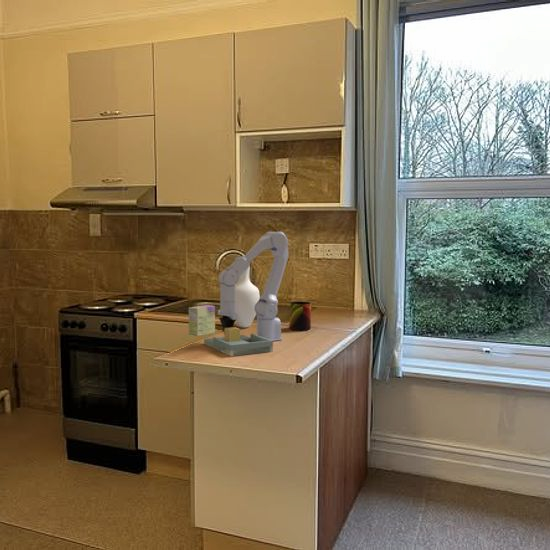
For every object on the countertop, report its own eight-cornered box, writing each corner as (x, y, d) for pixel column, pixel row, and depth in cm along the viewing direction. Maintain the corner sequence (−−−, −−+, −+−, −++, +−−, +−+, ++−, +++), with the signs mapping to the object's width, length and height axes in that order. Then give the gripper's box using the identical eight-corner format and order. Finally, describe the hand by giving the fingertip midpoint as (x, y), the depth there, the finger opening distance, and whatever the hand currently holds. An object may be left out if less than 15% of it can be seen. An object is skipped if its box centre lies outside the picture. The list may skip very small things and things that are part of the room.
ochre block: (234, 338, 218) (234, 327, 218) (239, 340, 214) (240, 328, 214) (224, 339, 216) (224, 327, 215) (229, 341, 212) (229, 329, 211)
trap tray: (243, 339, 225) (243, 329, 225) (272, 351, 204) (272, 340, 204) (204, 343, 217) (204, 333, 217) (230, 356, 196) (230, 345, 196)
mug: (305, 325, 259) (305, 300, 258) (313, 331, 246) (313, 304, 245) (285, 326, 257) (285, 300, 256) (291, 331, 244) (292, 304, 243)
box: (206, 331, 243) (206, 304, 242) (215, 333, 240) (215, 305, 239) (188, 334, 235) (188, 307, 234) (197, 336, 232) (197, 308, 231)
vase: (229, 324, 261) (229, 265, 259) (259, 324, 261) (259, 265, 259) (227, 329, 247) (227, 267, 244) (259, 330, 247) (259, 267, 245)
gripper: (210, 299, 221) (210, 333, 222) (225, 304, 209) (225, 339, 210) (227, 298, 225) (227, 331, 226) (242, 302, 212) (242, 337, 213)
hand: (227, 335), depth 218 cm, fingers closed
